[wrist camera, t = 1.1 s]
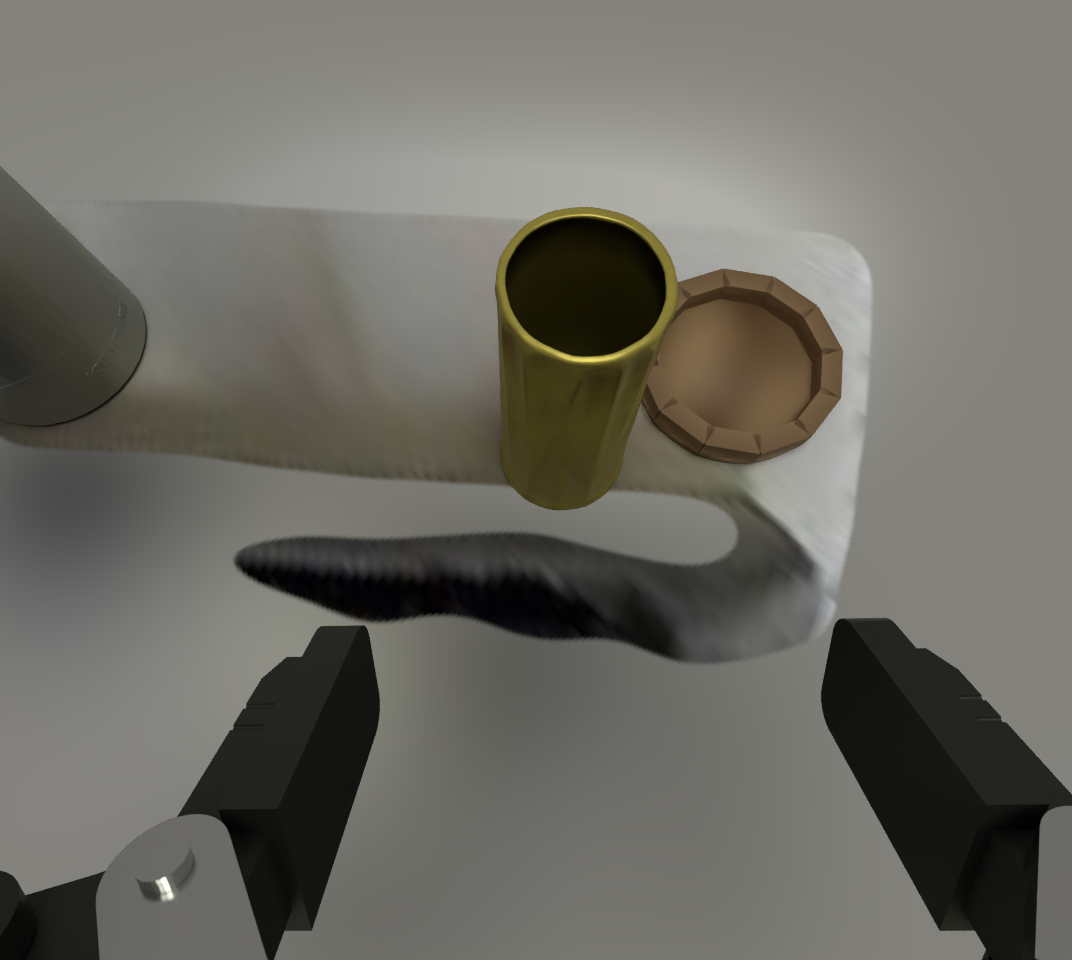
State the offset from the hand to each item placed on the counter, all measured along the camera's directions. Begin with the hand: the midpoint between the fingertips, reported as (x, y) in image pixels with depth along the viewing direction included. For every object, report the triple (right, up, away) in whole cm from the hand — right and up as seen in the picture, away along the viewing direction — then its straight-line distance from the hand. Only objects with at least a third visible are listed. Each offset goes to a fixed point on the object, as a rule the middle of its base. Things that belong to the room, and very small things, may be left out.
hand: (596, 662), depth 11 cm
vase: (0, +4, +20) cm, 21 cm away
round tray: (+9, +9, +22) cm, 25 cm away
